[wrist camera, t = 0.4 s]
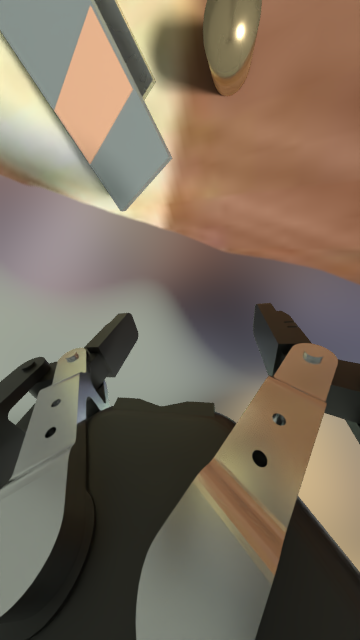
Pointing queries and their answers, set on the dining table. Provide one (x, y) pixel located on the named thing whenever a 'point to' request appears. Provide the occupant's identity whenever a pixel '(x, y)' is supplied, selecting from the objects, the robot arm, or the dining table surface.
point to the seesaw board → (88, 90)
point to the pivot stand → (126, 45)
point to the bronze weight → (230, 41)
